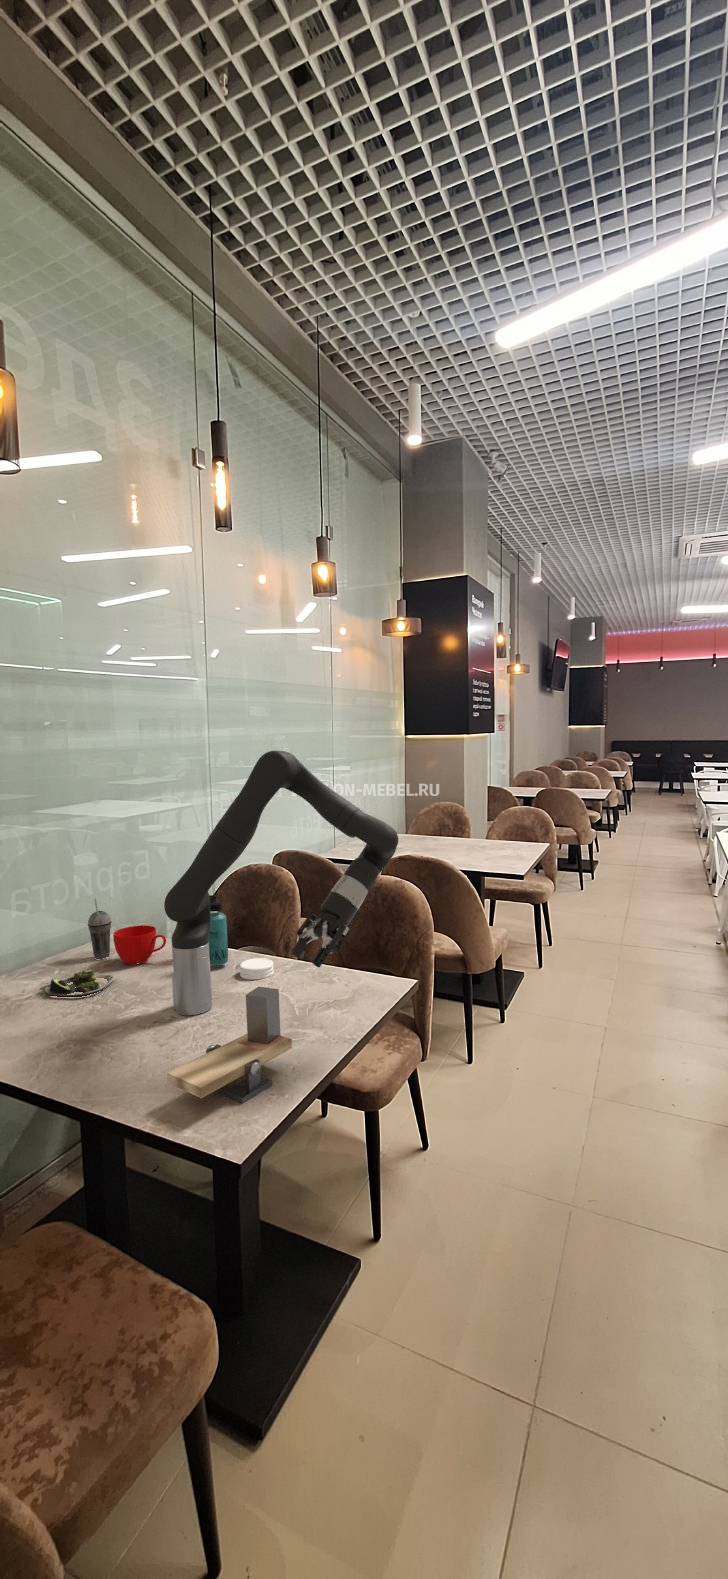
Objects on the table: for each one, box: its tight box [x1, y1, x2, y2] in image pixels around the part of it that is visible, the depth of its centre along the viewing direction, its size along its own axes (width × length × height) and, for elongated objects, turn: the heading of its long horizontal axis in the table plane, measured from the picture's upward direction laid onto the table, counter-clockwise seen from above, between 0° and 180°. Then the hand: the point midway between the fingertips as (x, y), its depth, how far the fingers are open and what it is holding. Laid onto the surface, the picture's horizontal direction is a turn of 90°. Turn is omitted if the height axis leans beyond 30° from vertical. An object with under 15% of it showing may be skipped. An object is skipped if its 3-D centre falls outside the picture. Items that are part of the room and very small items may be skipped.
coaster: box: [239, 957, 275, 981], centre depth 198 cm, size 10×10×4 cm
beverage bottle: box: [209, 901, 229, 966], centre depth 205 cm, size 6×7×20 cm
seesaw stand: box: [205, 1044, 273, 1104], centre depth 135 cm, size 14×8×6 cm, turn 53°
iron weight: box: [245, 986, 282, 1045], centre depth 141 cm, size 5×5×10 cm
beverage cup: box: [87, 898, 112, 959], centre depth 217 cm, size 7×7×20 cm
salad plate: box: [38, 969, 115, 997], centre depth 193 cm, size 19×18×5 cm
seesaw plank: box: [166, 1033, 293, 1099], centre depth 134 cm, size 10×24×2 cm, turn 143°
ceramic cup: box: [112, 924, 167, 965], centre depth 213 cm, size 13×17×10 cm
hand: (304, 960), depth 146 cm, fingers open, 8 cm apart
